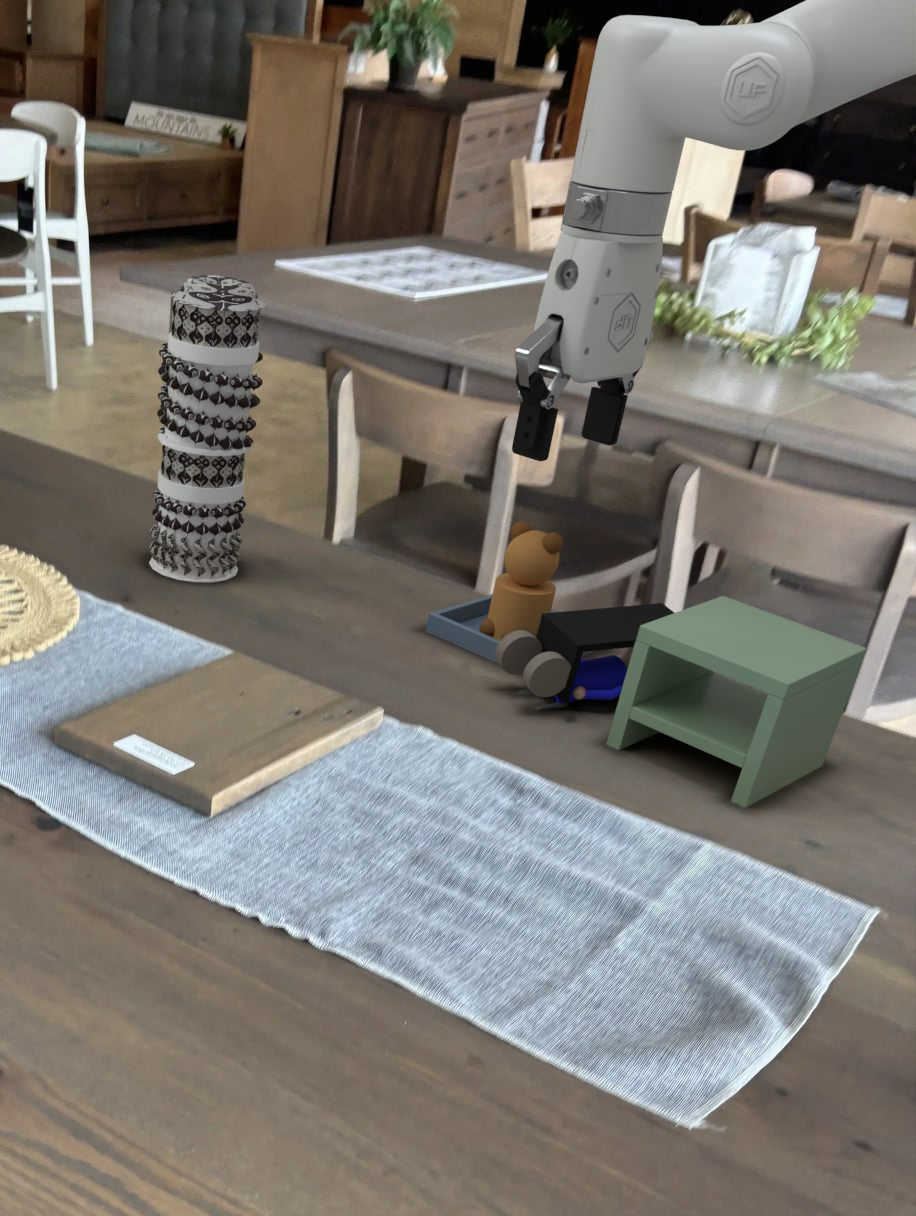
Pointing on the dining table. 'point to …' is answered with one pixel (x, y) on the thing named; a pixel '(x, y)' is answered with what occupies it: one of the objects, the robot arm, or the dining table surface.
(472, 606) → the tray
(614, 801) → the dining table surface
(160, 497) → the decorative candle
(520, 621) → the toy bear
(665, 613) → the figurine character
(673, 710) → the shelf
